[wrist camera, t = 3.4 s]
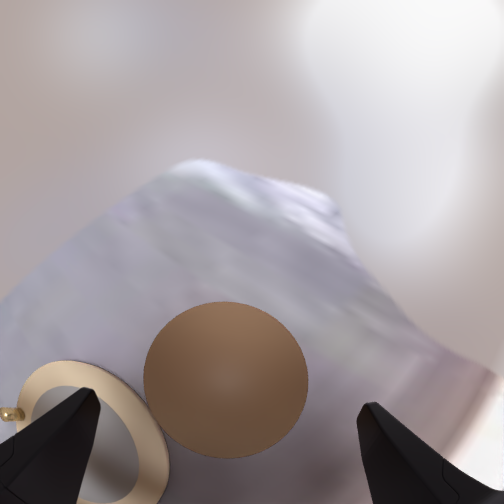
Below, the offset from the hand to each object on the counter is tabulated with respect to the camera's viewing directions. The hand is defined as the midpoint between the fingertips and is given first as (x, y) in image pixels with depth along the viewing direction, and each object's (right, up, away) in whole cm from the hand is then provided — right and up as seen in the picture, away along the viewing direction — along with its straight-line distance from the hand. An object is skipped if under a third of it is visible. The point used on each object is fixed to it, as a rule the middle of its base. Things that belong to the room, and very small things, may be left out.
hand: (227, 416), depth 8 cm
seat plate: (-10, -8, +5) cm, 14 cm away
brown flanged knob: (-1, -2, +8) cm, 9 cm away
